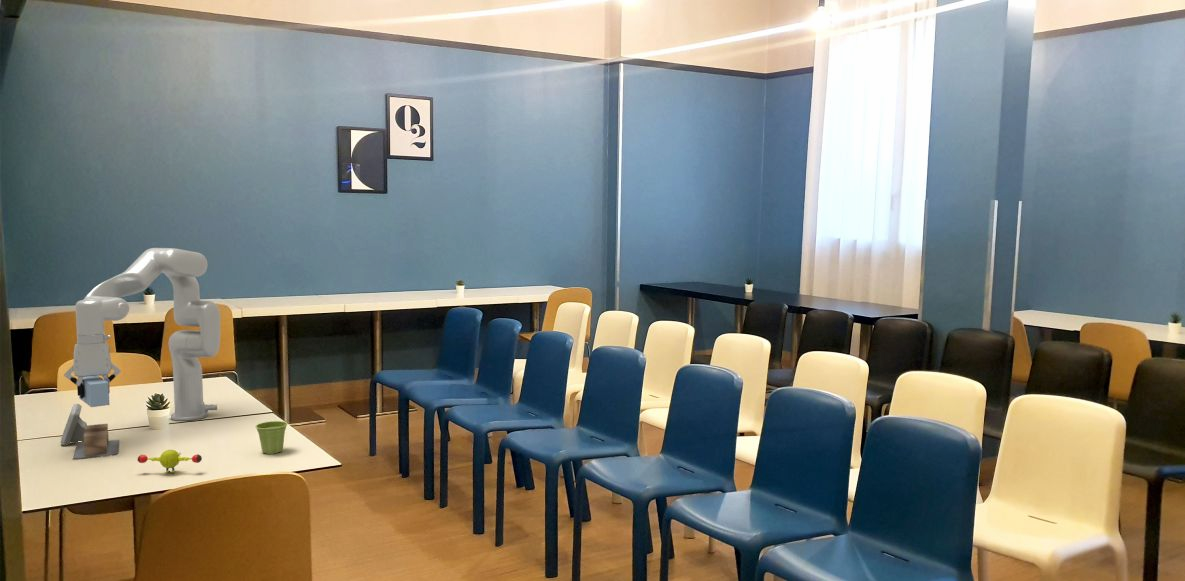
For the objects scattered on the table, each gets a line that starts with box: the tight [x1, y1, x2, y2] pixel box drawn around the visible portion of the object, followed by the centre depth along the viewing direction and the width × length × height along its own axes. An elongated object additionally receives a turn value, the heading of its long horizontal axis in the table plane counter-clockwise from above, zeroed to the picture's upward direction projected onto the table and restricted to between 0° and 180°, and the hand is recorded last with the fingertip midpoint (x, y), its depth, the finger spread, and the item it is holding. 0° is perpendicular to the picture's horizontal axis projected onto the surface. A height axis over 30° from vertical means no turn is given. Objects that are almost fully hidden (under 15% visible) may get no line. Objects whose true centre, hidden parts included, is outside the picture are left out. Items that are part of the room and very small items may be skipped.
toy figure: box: [137, 449, 203, 474], centre depth 255 cm, size 18×6×7 cm, turn 92°
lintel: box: [78, 376, 110, 408], centre depth 276 cm, size 5×16×7 cm, turn 41°
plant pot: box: [255, 420, 288, 455], centre depth 277 cm, size 9×9×9 cm
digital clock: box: [60, 403, 87, 446], centre depth 289 cm, size 16×9×11 cm, turn 16°
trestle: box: [72, 423, 120, 460], centre depth 278 cm, size 12×18×6 cm, turn 27°
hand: (93, 396), depth 276 cm, fingers closed on lintel, 5 cm apart
